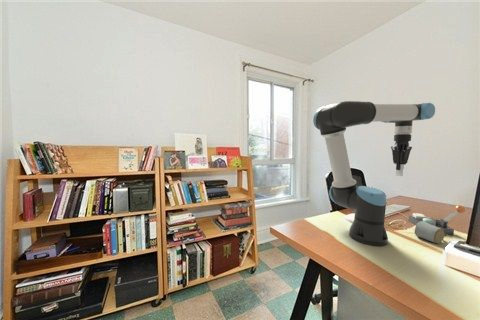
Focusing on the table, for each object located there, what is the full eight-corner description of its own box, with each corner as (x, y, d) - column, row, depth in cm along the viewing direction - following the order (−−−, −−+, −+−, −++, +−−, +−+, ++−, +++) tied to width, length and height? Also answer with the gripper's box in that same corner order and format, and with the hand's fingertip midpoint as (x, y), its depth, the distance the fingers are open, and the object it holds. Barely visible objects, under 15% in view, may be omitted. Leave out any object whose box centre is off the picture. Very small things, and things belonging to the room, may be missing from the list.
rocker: (415, 218, 110) (416, 216, 109) (412, 215, 112) (413, 213, 112) (425, 219, 108) (425, 216, 108) (421, 216, 111) (422, 213, 111)
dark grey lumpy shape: (426, 232, 99) (427, 220, 99) (408, 220, 115) (409, 210, 114) (453, 235, 97) (454, 223, 96) (431, 222, 112) (432, 212, 111)
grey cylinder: (435, 245, 86) (437, 228, 86) (413, 237, 94) (415, 221, 93) (448, 242, 90) (450, 226, 89) (426, 234, 97) (428, 219, 97)
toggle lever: (435, 221, 102) (456, 204, 93) (439, 220, 102) (461, 203, 94) (441, 227, 99) (464, 210, 91) (446, 226, 100) (469, 209, 92)
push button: (425, 224, 101) (426, 220, 101) (420, 221, 105) (421, 217, 105) (435, 225, 100) (435, 221, 100) (429, 222, 104) (430, 218, 104)
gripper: (400, 133, 105) (397, 177, 107) (418, 134, 109) (414, 176, 111) (387, 134, 112) (383, 174, 114) (404, 134, 116) (400, 174, 118)
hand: (399, 175), depth 113 cm, fingers closed
